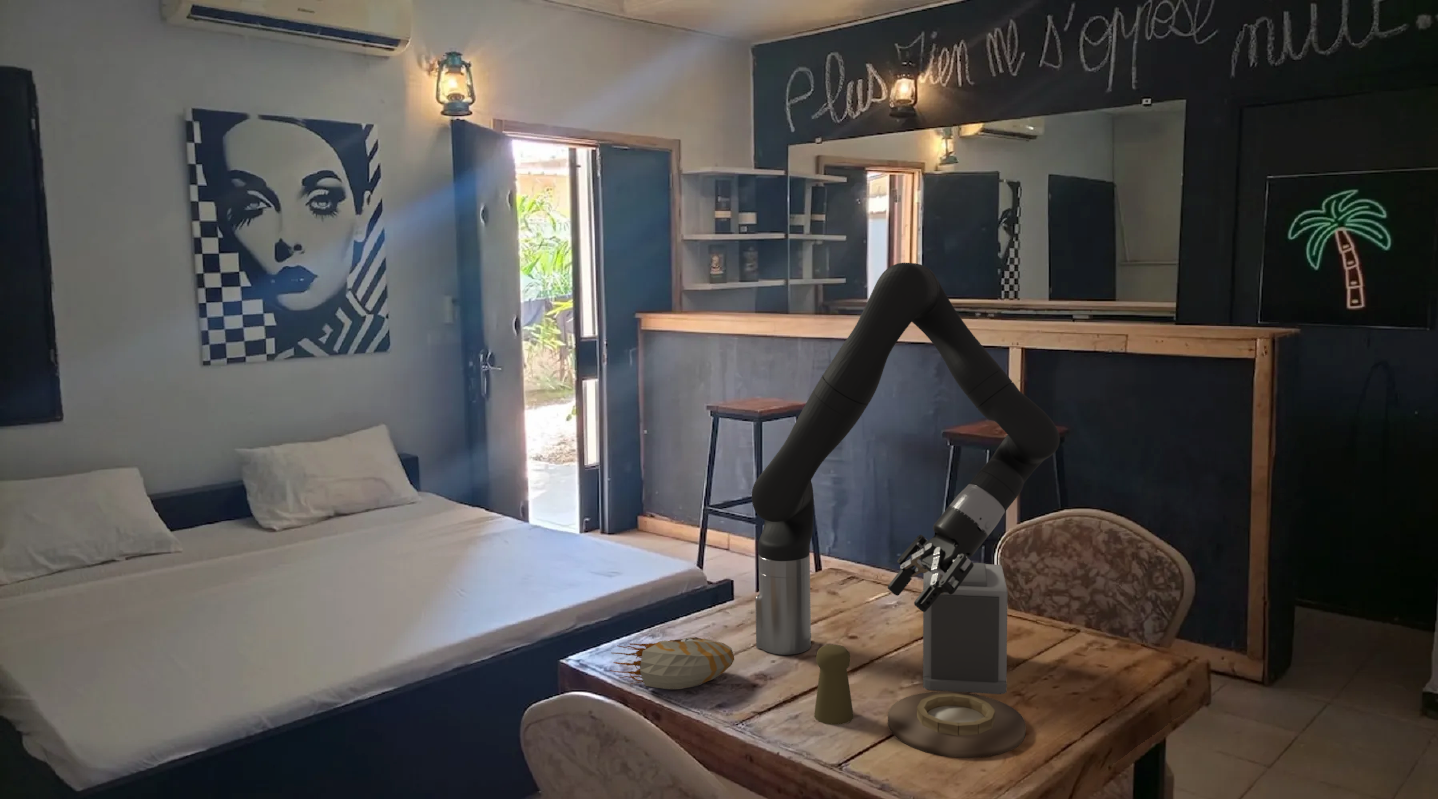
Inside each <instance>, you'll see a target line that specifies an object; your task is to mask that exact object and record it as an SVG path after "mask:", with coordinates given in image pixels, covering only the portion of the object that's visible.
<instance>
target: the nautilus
mask: <svg viewBox="0 0 1438 799" xmlns="http://www.w3.org/2000/svg"><path fill="white" fill-rule="evenodd" d="M628 644H629V645H627V646H623V645H618V647H619V648H624V649H626V648H627V650H634V651H635V652H631V653H627V652H626V653H625V652H612V655H613V654H615V655H617V654H618V655H625V656H634V657H635V659H638V658H639V659H640V660H634V661H633V663H630V662H617V661H613V664H616V665H623V666H624V665H626V666H634V667H635V668H636V671H634V670H633V671H629V670H628V671H620V670H618V671H617V670H611V669H609V671H611V672H612V673H621V674H623V673H624V674H629V676H628V675H624V676H621V677H619V679H622V678H630V679H631V678H632V679H633V680H635V681H636V682H632V683H630V685H633V684H641V683H643V684H644V686H646V687H650V688H651V687H652V688H655V689H656V688H657V689H664V690H682V689H689V688H695V687H698V686H701V685H704V684H705V683H707V682H709V681H713V680H714V679H716V678H717V677H719V676H720V675H721V676H722V674H723V673H725V672H726V670H728V669H729V668H730V667H732V665H733V663H734V662H735V655H734V652H733V649H732V647H730V646H729V645H727V644H726V643H724V642H720V641H714V640H711V639H708V638H701V637H700V638H699V637H696V636H694V637H691V636H690V637H686V638H680V639H670V640H661V641H658V642H654V643H653V642H651V643H650V642H649V643H630V642H628ZM634 646H635V647H634ZM636 646H639V647H636ZM637 666H638V667H639V668H638V667H637ZM638 678H640V679H638Z"/></svg>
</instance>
